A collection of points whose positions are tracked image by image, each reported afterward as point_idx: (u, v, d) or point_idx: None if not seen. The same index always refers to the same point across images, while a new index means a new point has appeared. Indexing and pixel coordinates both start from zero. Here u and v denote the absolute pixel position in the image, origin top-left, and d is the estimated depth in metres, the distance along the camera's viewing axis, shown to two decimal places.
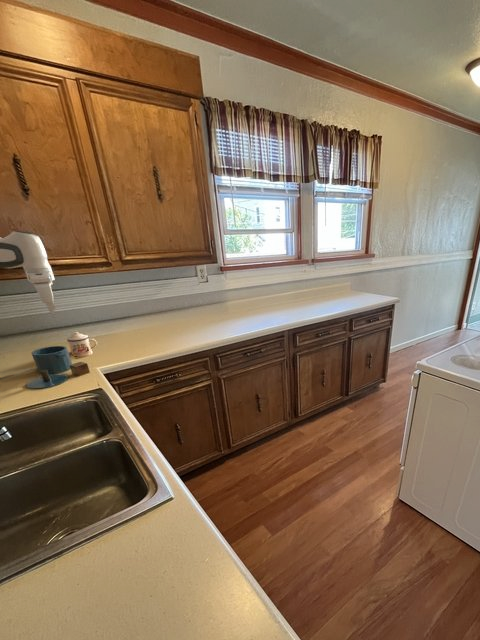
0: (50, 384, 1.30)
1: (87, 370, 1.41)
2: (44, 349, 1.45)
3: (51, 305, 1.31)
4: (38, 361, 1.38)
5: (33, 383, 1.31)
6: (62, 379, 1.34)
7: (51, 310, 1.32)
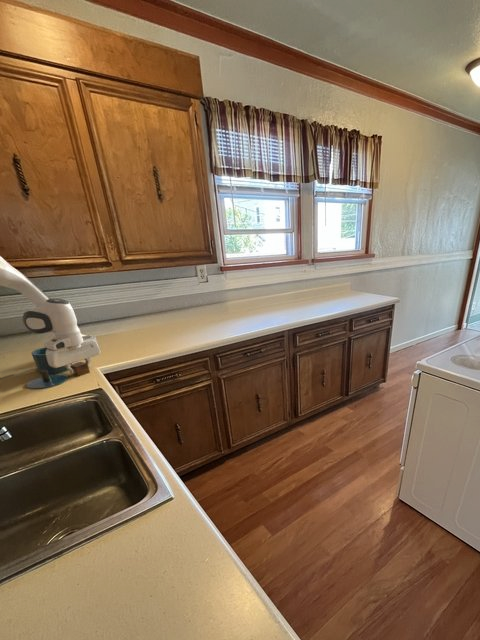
0: (50, 384, 1.30)
1: (87, 370, 1.41)
2: (44, 349, 1.45)
3: (67, 367, 1.35)
4: (38, 361, 1.38)
5: (33, 383, 1.31)
6: (62, 379, 1.34)
7: (70, 371, 1.37)
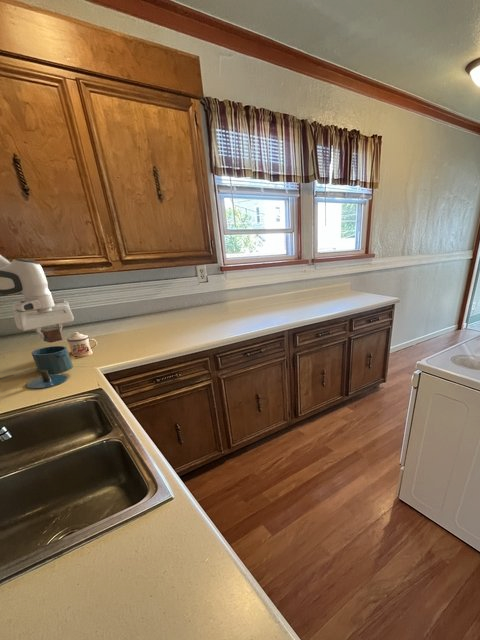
0: (50, 384, 1.30)
1: (59, 336, 1.37)
2: (44, 349, 1.45)
3: (37, 331, 1.31)
4: (38, 361, 1.38)
5: (33, 383, 1.31)
6: (62, 379, 1.34)
7: (40, 335, 1.33)
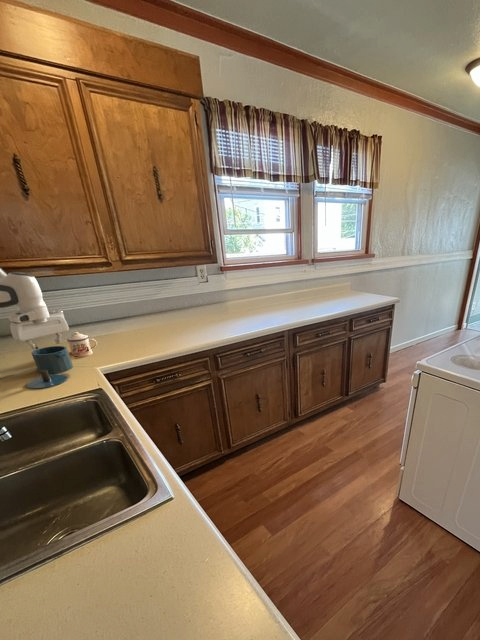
0: (50, 384, 1.30)
1: None
2: (44, 349, 1.45)
3: (28, 342, 1.34)
4: (38, 361, 1.38)
5: (33, 383, 1.31)
6: (62, 379, 1.34)
7: (32, 346, 1.36)
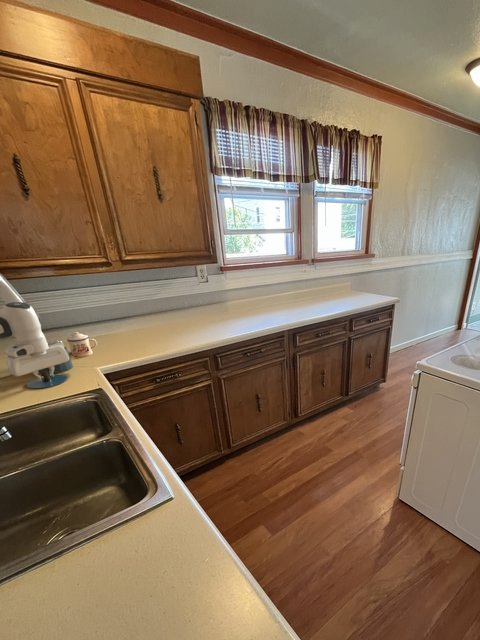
0: (50, 384, 1.30)
1: None
2: None
3: (34, 374, 1.28)
4: None
5: (33, 383, 1.31)
6: (62, 379, 1.34)
7: (38, 378, 1.30)
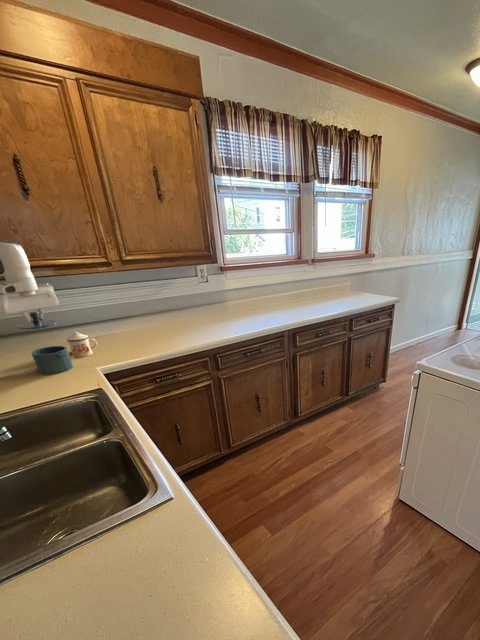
0: (39, 325, 1.31)
1: None
2: (44, 349, 1.45)
3: (24, 315, 1.29)
4: (38, 361, 1.38)
5: (23, 325, 1.32)
6: (52, 322, 1.35)
7: (27, 319, 1.31)
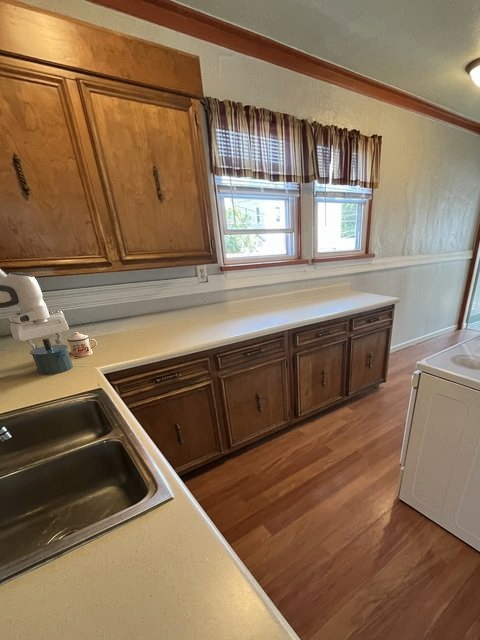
0: (52, 351, 1.38)
1: None
2: None
3: (29, 343, 1.34)
4: (38, 361, 1.38)
5: (36, 351, 1.39)
6: (63, 348, 1.43)
7: (32, 347, 1.36)
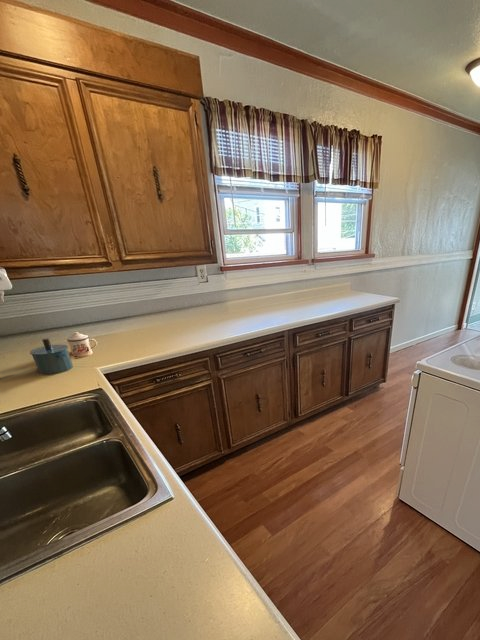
0: (52, 351, 1.38)
1: None
2: None
3: None
4: (38, 361, 1.38)
5: (36, 351, 1.39)
6: (63, 348, 1.43)
7: None
